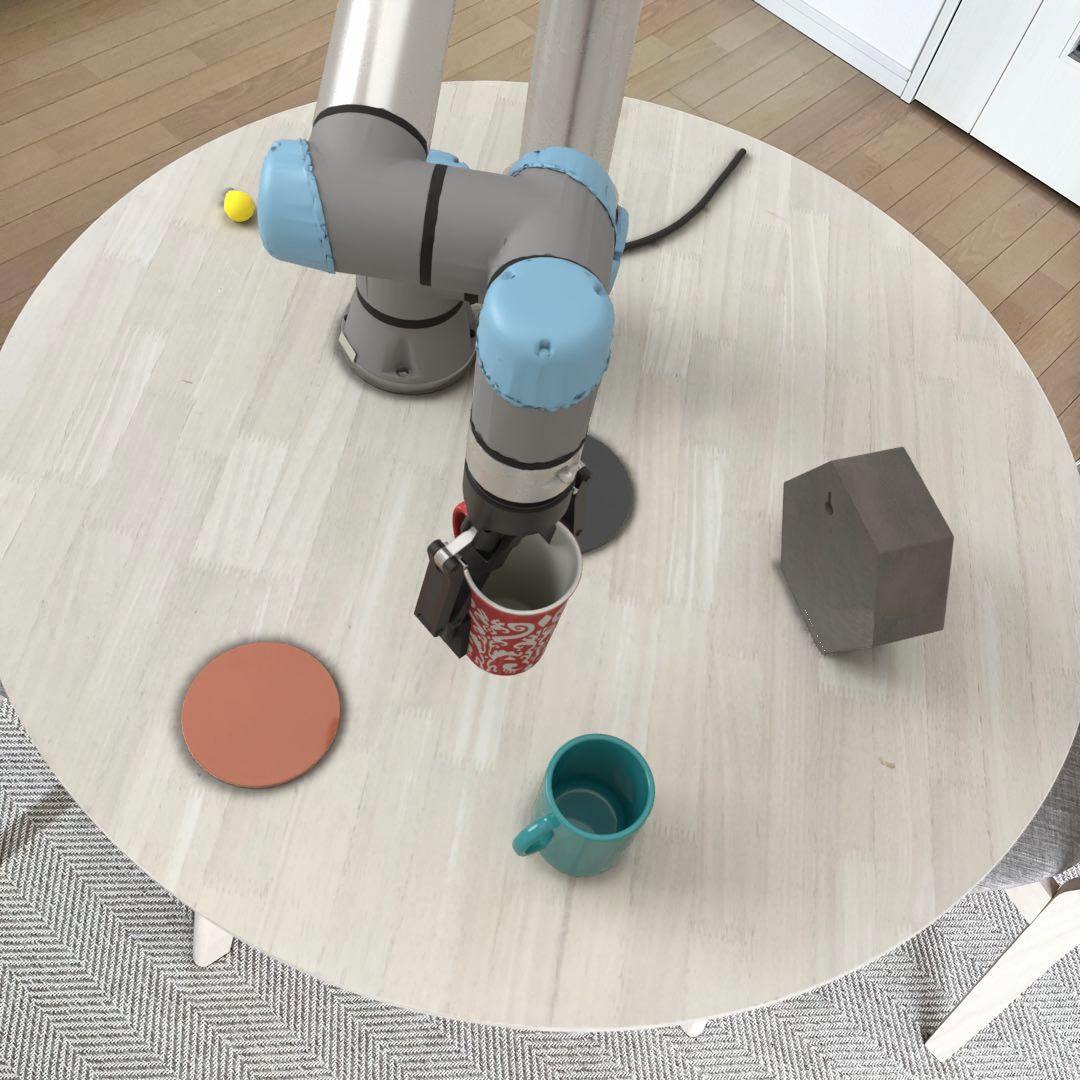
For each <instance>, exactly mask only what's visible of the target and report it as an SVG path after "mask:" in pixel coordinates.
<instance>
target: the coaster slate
mask: <svg viewBox="0 0 1080 1080" xmlns="http://www.w3.org/2000/svg"><path fill="white" fill-rule="evenodd" d="M580 460H581V461H582V462H583V463H584V464H585V465H586V466H587V467H588V468H589V469H590V470H591V471H592V472H593V473H594V475H593V477H592V480H591V482H590V484H589V486H588V489H587V498H586V516H585V530H584V531H583V533H582V534H581V535H580V536H578V537H577V538H575V539H576V541H577V543H578V545H579V547H580V550H581V554H583V553H586V552H589V551H593V550H595V549H597V548H599V547H601V546H603V545H604V544H606V543H607V542H609V541H610V540H611V539H613V538H614V537H615V536H616V535H617V534H618V533H619V532H620V530H621V529H622V528H623V526H624V524H625V523H626V521H627V518H628V516H629V515H630V511H631V506H632V498H633V493H632V491H633V490H632V484H631V479H630V476H629V475H628V472H627V470H626V468H625V466H624V464H623V462H622V461H621V460H620V459H619V457H618V456H617V455H616V454H615V453H614V452H613V451H612V449H610V448H609V447H608V446H607V445H605V443H603V442H601V441H600V440H599V439H598V438H595V437H593V436H591V435H589V434H587V436H586V439H585V442H584V445H583V450H582V454H581V458H580Z"/></svg>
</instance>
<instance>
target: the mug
mask: <svg viewBox="0 0 1080 1080" xmlns="http://www.w3.org/2000/svg"><path fill="white" fill-rule="evenodd" d="M451 516H452V518H451V519H452V521H451V523H452V530H453V531H452V532H453V536H454V539H455V538H456V537H458V536H459V535H460V534H461V525H462V523H463V521H464V519H465V518H466V516H467V508H466V504H465V501H464V500H463V501H461V502H459V503H458V504H457V505H456V506H454V509H453V510H452V515H451ZM555 525H556V528H557V529H556V531H555V532H554V535H553V537H552V539H551V542H550V545H549V544H548V543H547V542H546V541H545V540H544V539H543V538H542V536H541V535H540V534H539V533H537V534H534V535H528V536H526V537H524V538H522V540H521V541H520V543H519V545H518V546H516V547H514V548H512V550H511V552H510V554H509V555H508V557H507V559H506V560H505V562H504V564H503V565H502V567H501V568H498V569H496V570H494V571H492V572H491V574H490V575H489V577H488V579H487V580H486V582H485V584H484V586H483V587H482V589H481V591H480V590H479V589H478V588H477V587H476V585H475V584H474V582H473V580H472V578H471V576H470V573H469V571H468V569H466V570H464V576H465V578H466V581H467V583H468V585H469V587H470V589H471V592H472V596H471V608H470V610H469V611H468V615H469V616H470V618H471V628H470V635H469V642H468V649H467V654H466V655H465V656H467V657H468V659H469V660H470V661H471V662H472V663H473V664H474V665H475V666H476V667H477V668H479V669H480V670H482V671H484V672H486V673H488V674H491V675H494V676H503V677H509V676H510V677H511V676H516V675H519V674H523V673H525V672H527V671H529V670H530V669H531V668H533V667H534V666H536V664H537V663H539V661H540V660H541V659H542V657H543V655H544V654H545V651H546V649H547V647H548V645H549V642H550V641H551V638H552V635H553V634H554V632H555V630H556V628H557V626H558V625H559V621H560V619H561V617H562V614H563V612H564V610H565V608H566V606H567V603H568V601H569V600H570V598H571V597H572V596H573V594H574V593H575V592H576V590H577V588H578V586H579V585H580V582H581V579H582V576H583V570H584V569H583V567H584V561H583V555H582V554H583V553H581V550H580V547H579V545H578V543H577V541H576V539H575V537H574V536H573V534H572V533H571V532H570V531H569V529H568V528H567V527H566V526H565V525H564V524H562V523H561V522H560V521H558V522H557V523H556V524H555Z"/></svg>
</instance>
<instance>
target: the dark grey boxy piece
mask: <svg viewBox="0 0 1080 1080" xmlns="http://www.w3.org/2000/svg"><path fill="white" fill-rule="evenodd" d="M782 489H783V490H782V514H781V515H782V517H781V539H780V540H781V543H780V570H781V573H782V574H783V576H784V578H785V580H786V583H787V585H788V588H789V589H790V591H791V593H792V595H793V597H794V600H795V602H796V604H797V606H798V608H799V610H800V612H801V615H802V617H803V620H804V621H805V623H806V625H807V628H808V630H809V632H810V634H811V636H812V638H813V640H814V642H815V645H816V647H817V649H818V651H819V653H821V654H825V653H826V654H828V653H836V652H837V653H838V652H845V651H846V652H847V651H855V650H863V649H864V650H865V649H871V648H876V647H880V646H884V645H888V644H892V643H897V642H901V641H904V640H908V639H912V638H916V637H920V636H925V635H928V634H932V633H936V632H941V631H943V630H944V627H945V621H946V611H947V603H948V594H949V585H950V576H951V569H952V560H953V559H952V558H953V551H954V542H955V536H954V533H953V532H952V530H951V528H950V526H949V525H948V523H947V520H946V519H945V517H944V516H943V514H942V512H941V510H940V508H939V507H938V505H937V503H936V501H935V499H934V498H933V496H932V495H931V493H930V490H929V488H928V487H927V486H926V484H925V482H924V480H923V478H922V476H921V475H920V472H919V471H918V470H917V468H916V466H915V464H914V462H913V461H912V458H911V457H910V455H909V453H908V452H907V450H906V448H905V447H904V446H898V447H893V448H887V449H881V450H878V451H872V452H868V453H863V454H858V455H853V456H848V457H847V456H846V457H843V458H838V459H833V460H829V461H827V462H825V463H823V464H821V465H818V466H817V467H814V468H812V469H810V470H807V471H806V472H803V473H801V474H799V475H797V476H794V477H793V478H790V479H788V480H786V481H784V482H783V486H782ZM805 610H806V611H805ZM806 612H807V613H806ZM807 614H808V615H807ZM809 619H810V620H809ZM810 621H811V622H810ZM811 623H812V624H811ZM812 625H813V626H812ZM817 635H818V637H817ZM820 642H821V643H820ZM822 646H823V647H822ZM824 650H825V651H824Z"/></svg>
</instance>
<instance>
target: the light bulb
mask: <svg viewBox="0 0 1080 1080" xmlns="http://www.w3.org/2000/svg"><path fill="white" fill-rule="evenodd" d="M223 195H224V196H225V198H224V202H223V210H224V212H225V213H226V215H227V217H228V218H229V219H230V220H232V221H235V222H238V223H242V222H245V221H249V219H250V218H251V217H252V216H253V215H254V213H255V212H254V211H255V203H254V200H253V199H252V197H251V196H250V195H249V194H248V193H246V192H244V191H241V190H235V189H234V188H232V187H227V188H226V189H225V190H224V192H223Z"/></svg>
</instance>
